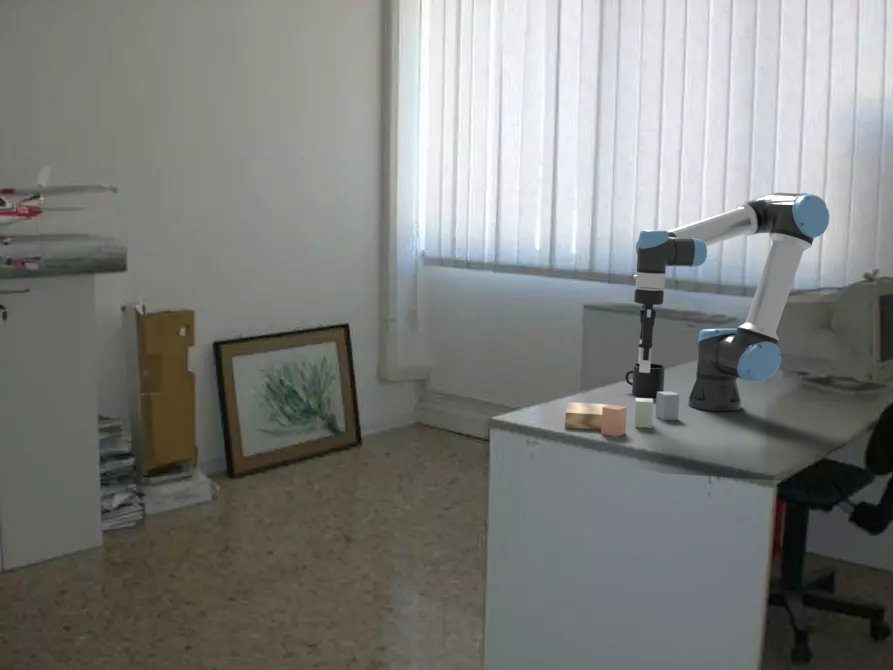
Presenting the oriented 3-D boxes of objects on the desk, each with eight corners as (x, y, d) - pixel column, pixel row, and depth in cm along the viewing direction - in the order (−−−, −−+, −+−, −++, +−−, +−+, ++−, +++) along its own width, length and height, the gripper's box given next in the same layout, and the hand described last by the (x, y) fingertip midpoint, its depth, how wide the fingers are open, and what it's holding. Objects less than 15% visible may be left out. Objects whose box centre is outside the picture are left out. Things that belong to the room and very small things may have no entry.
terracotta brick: (609, 430, 269) (611, 404, 268) (625, 433, 266) (626, 407, 265) (601, 433, 265) (602, 407, 264) (616, 436, 262) (618, 409, 261)
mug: (629, 389, 323) (630, 361, 321) (666, 393, 317) (668, 365, 316) (620, 394, 314) (621, 365, 313) (658, 399, 309) (660, 369, 308)
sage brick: (650, 424, 277) (652, 398, 276) (651, 428, 273) (653, 402, 272) (633, 423, 278) (635, 397, 277) (634, 427, 273) (635, 401, 272)
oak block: (614, 419, 282) (614, 404, 281) (614, 430, 269) (615, 415, 268) (566, 416, 283) (567, 402, 283) (565, 427, 271) (565, 412, 270)
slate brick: (669, 415, 288) (671, 391, 287) (677, 419, 283) (679, 394, 282) (655, 416, 286) (656, 391, 285) (663, 420, 282) (664, 395, 281)
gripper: (634, 283, 283) (628, 359, 286) (636, 292, 259) (630, 375, 262) (662, 285, 282) (656, 361, 285) (666, 294, 257) (660, 377, 261)
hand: (643, 368), depth 273 cm, fingers open, 13 cm apart
